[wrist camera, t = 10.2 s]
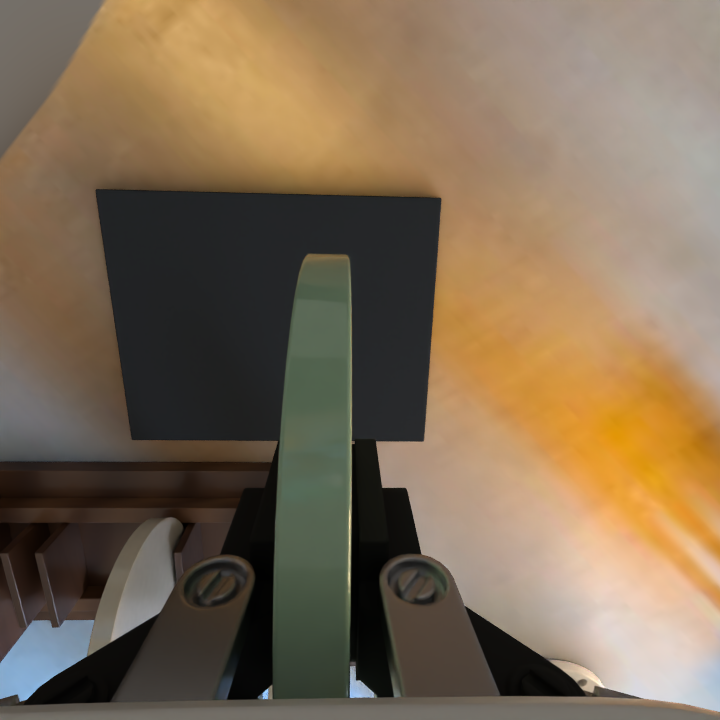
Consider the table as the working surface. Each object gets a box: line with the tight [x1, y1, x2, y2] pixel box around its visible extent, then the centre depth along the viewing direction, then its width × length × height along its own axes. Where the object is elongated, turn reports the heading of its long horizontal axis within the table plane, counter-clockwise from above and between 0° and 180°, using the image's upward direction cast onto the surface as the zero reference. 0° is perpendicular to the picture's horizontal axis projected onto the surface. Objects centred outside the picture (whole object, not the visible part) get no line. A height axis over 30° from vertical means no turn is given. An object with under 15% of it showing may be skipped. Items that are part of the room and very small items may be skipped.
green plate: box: [272, 253, 352, 699], centre depth 12 cm, size 1×12×12 cm, turn 179°
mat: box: [96, 189, 441, 442], centre depth 29 cm, size 20×16×1 cm
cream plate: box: [87, 517, 185, 656], centre depth 27 cm, size 1×12×12 cm, turn 179°
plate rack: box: [0, 462, 356, 666], centre depth 32 cm, size 26×13×5 cm, turn 89°
